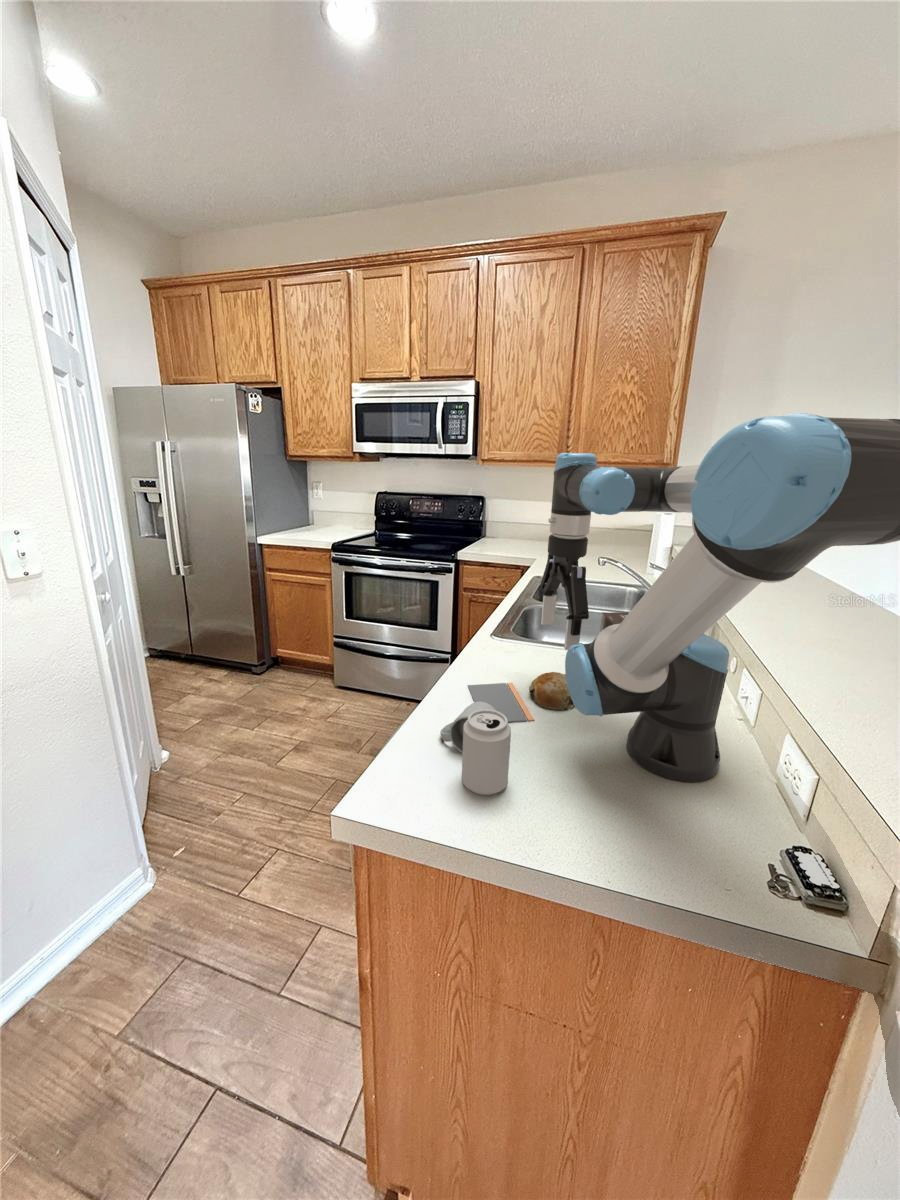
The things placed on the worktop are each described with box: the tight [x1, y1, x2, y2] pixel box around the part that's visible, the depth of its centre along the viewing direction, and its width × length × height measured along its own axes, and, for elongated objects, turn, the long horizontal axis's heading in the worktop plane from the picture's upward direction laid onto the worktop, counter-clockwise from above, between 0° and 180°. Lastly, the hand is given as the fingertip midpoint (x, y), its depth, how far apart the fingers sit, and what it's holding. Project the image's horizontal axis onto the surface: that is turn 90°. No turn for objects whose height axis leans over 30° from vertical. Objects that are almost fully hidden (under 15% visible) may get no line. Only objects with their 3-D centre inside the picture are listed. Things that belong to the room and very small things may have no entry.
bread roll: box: [528, 671, 575, 711], centre depth 105 cm, size 10×10×8 cm
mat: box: [467, 682, 535, 724], centre depth 104 cm, size 16×10×1 cm, turn 9°
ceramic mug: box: [440, 702, 497, 754], centre depth 89 cm, size 11×8×8 cm
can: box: [461, 709, 512, 796], centre depth 77 cm, size 8×8×12 cm
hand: (558, 635), depth 101 cm, fingers open, 13 cm apart
